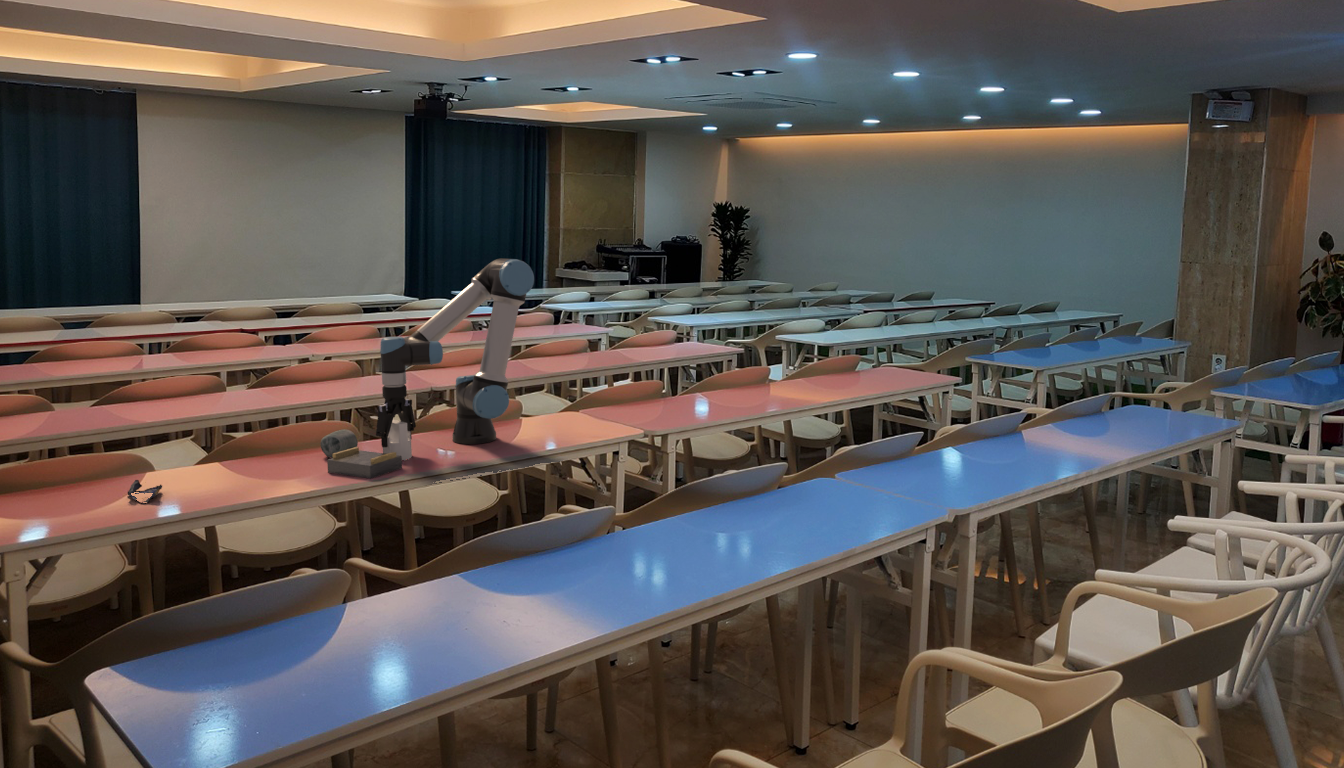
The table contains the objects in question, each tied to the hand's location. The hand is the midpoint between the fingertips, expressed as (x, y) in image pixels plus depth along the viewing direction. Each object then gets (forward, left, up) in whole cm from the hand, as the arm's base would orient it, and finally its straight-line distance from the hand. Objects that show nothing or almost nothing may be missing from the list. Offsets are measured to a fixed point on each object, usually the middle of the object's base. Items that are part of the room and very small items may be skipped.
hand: (397, 453), depth 323 cm
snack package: (+67, -31, -2) cm, 74 cm away
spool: (+5, -20, -2) cm, 21 cm away
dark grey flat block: (+17, +2, -1) cm, 17 cm away
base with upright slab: (0, 0, -2) cm, 2 cm away
